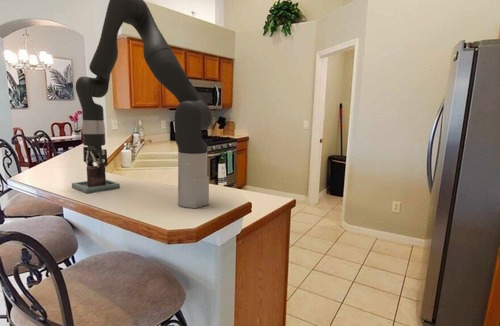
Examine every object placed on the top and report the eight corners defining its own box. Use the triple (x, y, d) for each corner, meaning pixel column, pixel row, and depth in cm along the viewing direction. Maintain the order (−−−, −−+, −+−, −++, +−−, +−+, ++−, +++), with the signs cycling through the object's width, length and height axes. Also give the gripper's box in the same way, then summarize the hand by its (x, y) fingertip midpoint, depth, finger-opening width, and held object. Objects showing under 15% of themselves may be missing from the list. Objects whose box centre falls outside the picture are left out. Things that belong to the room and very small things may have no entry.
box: (106, 186, 119) (105, 167, 118) (88, 188, 116) (87, 168, 115) (104, 183, 124) (103, 165, 123) (87, 184, 121) (86, 166, 120)
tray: (119, 188, 121) (119, 183, 121) (86, 193, 111) (86, 188, 111) (104, 183, 129) (104, 178, 128) (71, 187, 119) (71, 183, 119)
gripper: (113, 133, 115) (114, 176, 118) (95, 131, 124) (96, 171, 127) (92, 133, 109) (94, 179, 112) (75, 131, 118) (77, 173, 121)
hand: (95, 175), depth 119 cm, fingers open, 8 cm apart
